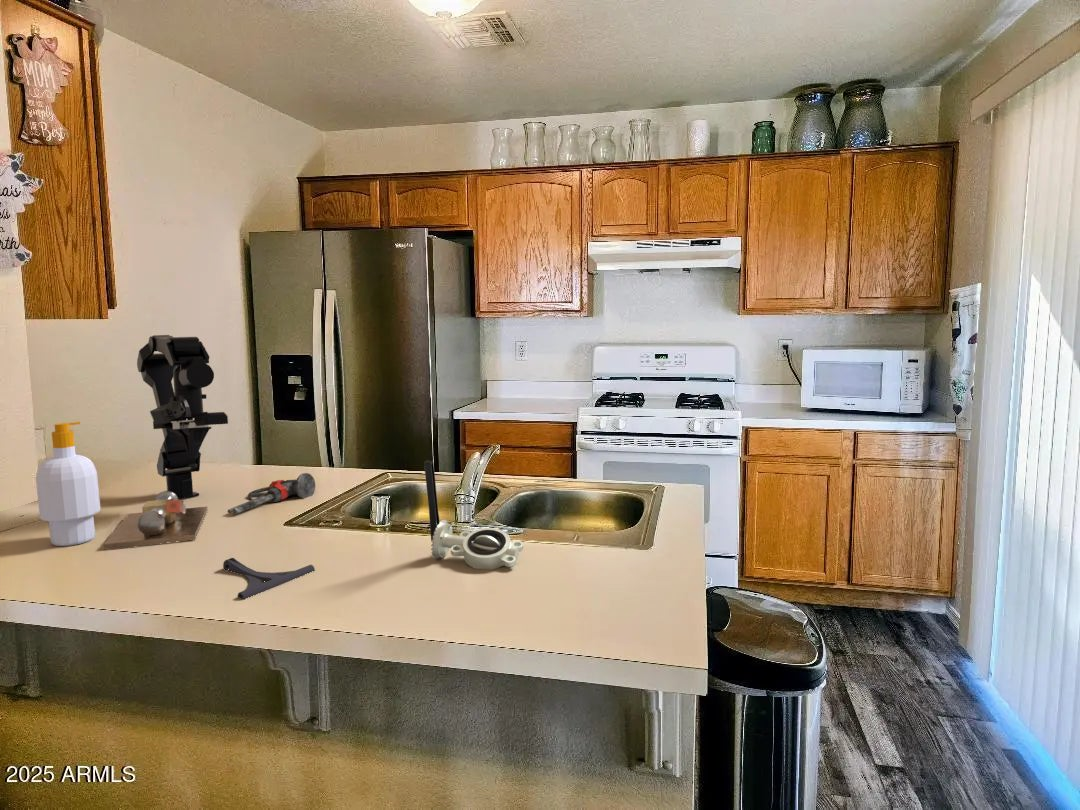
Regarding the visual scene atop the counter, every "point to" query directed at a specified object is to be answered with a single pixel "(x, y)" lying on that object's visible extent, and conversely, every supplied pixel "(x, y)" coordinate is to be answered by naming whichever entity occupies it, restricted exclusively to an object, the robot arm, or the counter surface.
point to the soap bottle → (68, 491)
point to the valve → (279, 492)
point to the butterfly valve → (468, 537)
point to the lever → (176, 507)
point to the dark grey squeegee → (262, 577)
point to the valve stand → (157, 524)
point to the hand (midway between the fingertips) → (192, 458)
